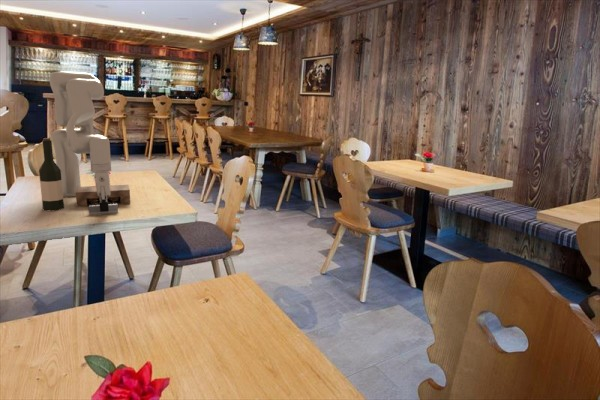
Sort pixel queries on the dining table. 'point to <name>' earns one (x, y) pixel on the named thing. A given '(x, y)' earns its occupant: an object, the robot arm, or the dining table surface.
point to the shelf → (91, 195)
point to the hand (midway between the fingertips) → (104, 211)
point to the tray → (95, 208)
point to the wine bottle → (50, 180)
